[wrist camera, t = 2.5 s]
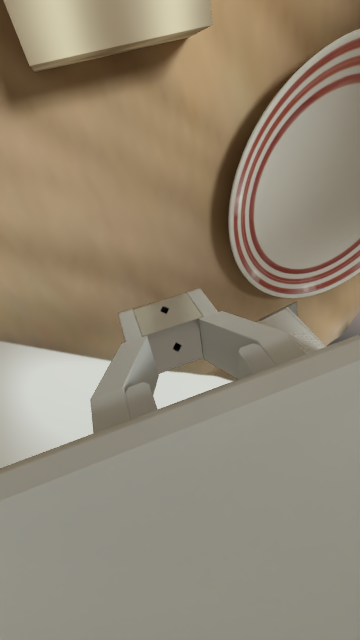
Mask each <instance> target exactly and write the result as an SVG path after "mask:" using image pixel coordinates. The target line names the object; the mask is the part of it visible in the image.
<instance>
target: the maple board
mask: <svg viewBox="0 0 360 640" xmlns="http://www.w3.org/2000/svg"><path fill="white" fill-rule="evenodd" d="M4 3H5V5H6V8H7V11H8V13H9V16H10V18H11V21H12V23H13V26H14V28H15V31H16V33H17V36H18V38H19V41H20V43H21V46H22V48H23V51H24V53H25V56H26V58H27V61H28V63H29V66H30V67H31V68H32V69H33V71H34V72H39V71H43V70H48V69H52V68H57V67H61V66H65V65H70V64H74V63H79V62H83V61H87V60H92V59H96V58H101V57H105V56H109V55H114V54H118V53H123V52H127V51H131V50H136V49H140V48H145V47H149V46H153V45H158V44H162V43H167V42H171V41H175V40H180V39H184V38H188V37H190V36H192V35H194V34H196V33H198V32H200V31H202V30H204V29H206V28H208V27H210V26H211V25H213V24H212V11H211V0H4Z"/></svg>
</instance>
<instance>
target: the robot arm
mask: <svg viewBox="0 0 360 640" xmlns="http://www.w3.org/2000/svg"><path fill="white" fill-rule="evenodd" d="M118 316H119V320H120V324H121V328H122V331H123V335H124V339H125V343H122V344H121V345H120V347H119V349H118V351H117V353H116V354H115V356H114V358H113V360H112V362H111V363H110V365H109V367H108V369H107V371H106V372H105V374H104V376H103V378H102V380H101V382H100V383H99V385H98V387H97V389H96V390H95V392H94V394H93V396H92V398H91V410H92V421H93V432H94V434H91V435H89V436H86V437H83V438H81V439H78V440H75V441H73V442H70V443H67V444H65V445H62V446H60V447H57V448H54V449H51V450H49V451H46V452H43V453H41V454H38V455H36V456H33V457H30V458H27V459H25V460H22V461H19V462H16V463H14V464H11V465H8V466H6V467H3V468H0V640H360V334H359V335H357V336H354V337H351V338H348V339H346V340H343V341H341V342H338V343H335V344H332V345H330V346H327V347H324V348H322V349H319V350H316V351H314V352H311V353H308V354H305V352H304V351H303V350H302V349H301V348H300V347H299V346H298V345H297V344H296V343H295V342H294V341H293V340H292V339H291V338H290V337H289V336H288V335H287V334H286V333H285V332H284V331H281V330H278V329H275V328H272V327H269V326H266V325H263V324H260V323H257V322H254V321H251V320H248V319H245V318H242V317H239V316H236V315H233V314H230V313H227V312H224V311H220V312H218V311H217V310H216V308H215V307H214V306H213V305H212V303H211V302H210V301H209V299H208V298H207V297H206V295H205V294H204V293H203V291H202V290H201V289H200V288H197V289H194V290H191V291H188V292H186V293H183V294H180V295H177V296H174V297H171V298H168V299H165V300H161V301H157V302H153V303H150V304H146V305H143V306H140V307H136V308H133V310H132V309H129V310H126V311H123V312H119V313H118ZM202 358H204V359H205V360H206V361H208V362H210V363H211V364H213V365H215V366H216V367H218V368H220V369H221V370H223V371H225V372H226V373H228V374H230V375H231V376H233V377H235V378H236V379H238V380H236V381H233V382H231V383H228V384H225V385H223V386H220V387H217V388H214V389H212V390H209V391H207V392H204V393H201V394H198V395H196V396H193V397H190V398H188V399H186V400H182V401H180V402H177V403H174V404H172V405H169V406H166V407H164V408H161V409H158V410H157V407H156V404H155V401H154V398H153V393H154V390H155V387H156V383H157V379H158V374H160V373H162V372H165V371H167V370H170V369H173V368H175V367H178V366H181V365H184V364H187V363H190V362H193V361H196V360H199V359H202Z"/></svg>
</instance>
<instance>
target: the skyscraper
mask: <svg viewBox="0 0 360 640" xmlns="http://www.w3.org/2000/svg"><path fill="white" fill-rule="evenodd" d="M257 323H260V324H263V325H266V326H269V327H272V328H275V329H278V330H281V331H284V332H285V333H286V334H287V335H288V336H289V337H290V338H291V339H292V340H293V341H294V342H295V343H296V344H297V345H298V346H299V347H300V348H301V349H302V350H303V351H304V352H305V354H308V353H311V352H314V351H316V350H319V349H322V348H324V347H325V346H324V344H323V343H322V342H321V341H320V340H319V339H318V338H317V337H316V336H315V335H314V334H313V332H312V331H311V330H310V329H309V328H308V327H307V326H306V325H305V324H304V323H303V322H302V321H301V320H300V319H299V318H298V315H297V302H294V303H292V304H290V305H288V306H286V307H284V308H282V309H281V310H279V311H277V312H275V313H273V314H271V315H269V316H267V317H265V318H263V319H261V320H259V321H257Z"/></svg>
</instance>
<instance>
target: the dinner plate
mask: <svg viewBox="0 0 360 640" xmlns="http://www.w3.org/2000/svg"><path fill="white" fill-rule="evenodd" d="M228 228H229V238H230V244H231V249H232V253H233V256H234V259H235V261H236V263H237V265H238V267H239V269H240V271H241V272H242V274H243V275H244V277H245V278H246V279H247V280H248V281H249V282H250V283H251V284H252V285H253V286H254V287H256V288H257V289H259V290H260V291H262V292H264V293H266V294H269V295H272V296H276V297H282V298H301V297H308V296H312V295H315V294H319V293H322V292H324V291H327V290H329V289H332V288H334V287H336V286H338V285H340V284H342V283H343V282H345V281H347V280H349V279H350V278H352V277H353V276H355V275H356V274H358V273H359V272H360V29H357V30H355V31H352V32H350V33H348V34H346V35H344V36H342V37H341V38H339V39H337V40H335V41H334V42H332V43H331V44H329V45H327V46H326V47H324V48H323V49H322V50H320V51H319V52H318V53H317V54H315V55H314V56H313V57H312V58H311V59H309V60H308V61H307V62H306V63H305V64H304V65H303V66H302V67H300V68H299V69H298V70H297V71H296V72H295V73H294V74H293V75H292V77H291V78H290V79H289V80H288V81H287V82H286V83H285V84H284V86H283V87H282V88H281V89H280V90H279V92H278V93H277V94H276V96H275V97H274V98H273V99H272V101H271V102H270V103H269V105H268V106H267V108H266V109H265V111H264V112H263V114H262V116H261V118H260V119H259V121H258V123H257V124H256V126H255V128H254V130H253V132H252V134H251V136H250V138H249V140H248V142H247V144H246V147H245V149H244V152H243V154H242V157H241V159H240V162H239V165H238V168H237V171H236V174H235V178H234V182H233V186H232V191H231V196H230V203H229V215H228Z"/></svg>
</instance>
